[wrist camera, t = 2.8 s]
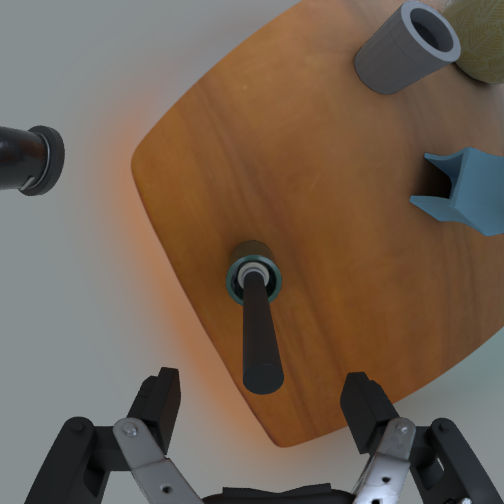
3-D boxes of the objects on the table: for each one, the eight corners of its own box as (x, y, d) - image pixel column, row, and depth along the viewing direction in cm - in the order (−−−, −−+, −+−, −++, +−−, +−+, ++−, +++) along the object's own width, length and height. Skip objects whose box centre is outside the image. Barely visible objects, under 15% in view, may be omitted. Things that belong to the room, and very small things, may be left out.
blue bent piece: (444, 224, 35) (547, 254, 15) (408, 201, 34) (522, 220, 14) (459, 179, 33) (561, 186, 14) (425, 152, 32) (534, 142, 13)
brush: (238, 274, 35) (229, 401, 13) (239, 249, 34) (231, 352, 12) (264, 275, 35) (291, 403, 13) (265, 250, 34) (300, 353, 12)
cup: (355, 87, 30) (407, 44, 17) (352, 41, 29) (395, -10, 15) (404, 100, 31) (466, 72, 17) (400, 56, 29) (452, 18, 15)
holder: (229, 281, 36) (225, 306, 28) (231, 238, 34) (227, 253, 27) (271, 283, 36) (279, 308, 28) (275, 241, 35) (284, 256, 27)
